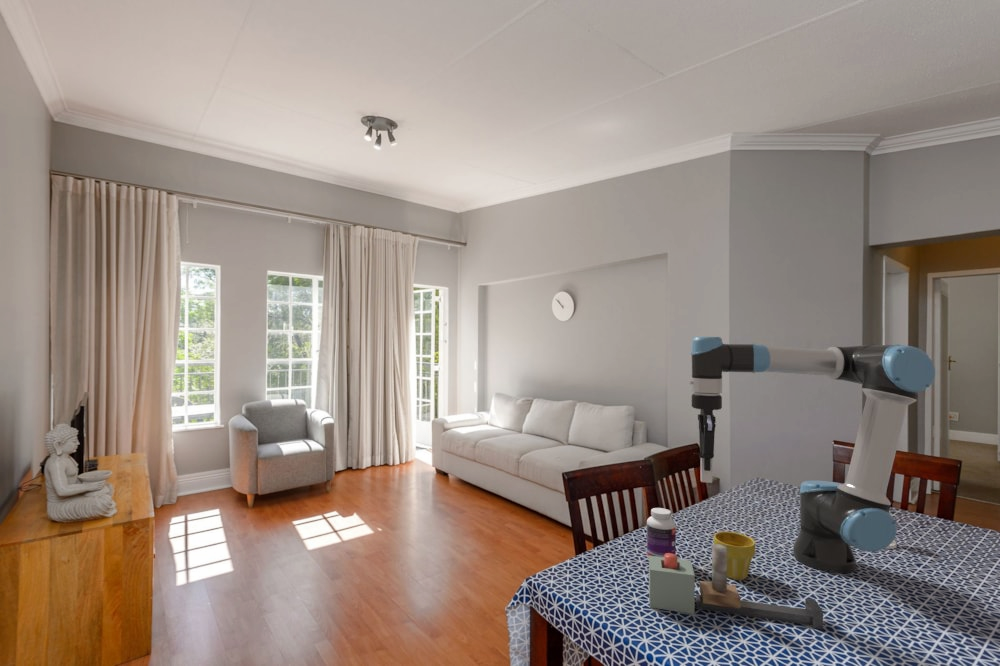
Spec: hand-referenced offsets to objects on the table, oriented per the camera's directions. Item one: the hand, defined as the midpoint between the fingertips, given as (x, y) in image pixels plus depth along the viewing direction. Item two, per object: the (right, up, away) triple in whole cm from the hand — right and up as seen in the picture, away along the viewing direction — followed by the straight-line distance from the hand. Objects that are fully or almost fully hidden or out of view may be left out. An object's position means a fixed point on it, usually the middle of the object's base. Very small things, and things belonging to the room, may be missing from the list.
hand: (706, 481), depth 130 cm
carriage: (-3, -24, -14) cm, 28 cm away
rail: (+4, -26, -16) cm, 31 cm away
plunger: (-14, -19, -11) cm, 26 cm away
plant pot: (+9, -27, +3) cm, 28 cm away
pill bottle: (-8, -27, +11) cm, 30 cm away
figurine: (+66, -28, +25) cm, 76 cm away
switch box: (-14, -26, -11) cm, 32 cm away
